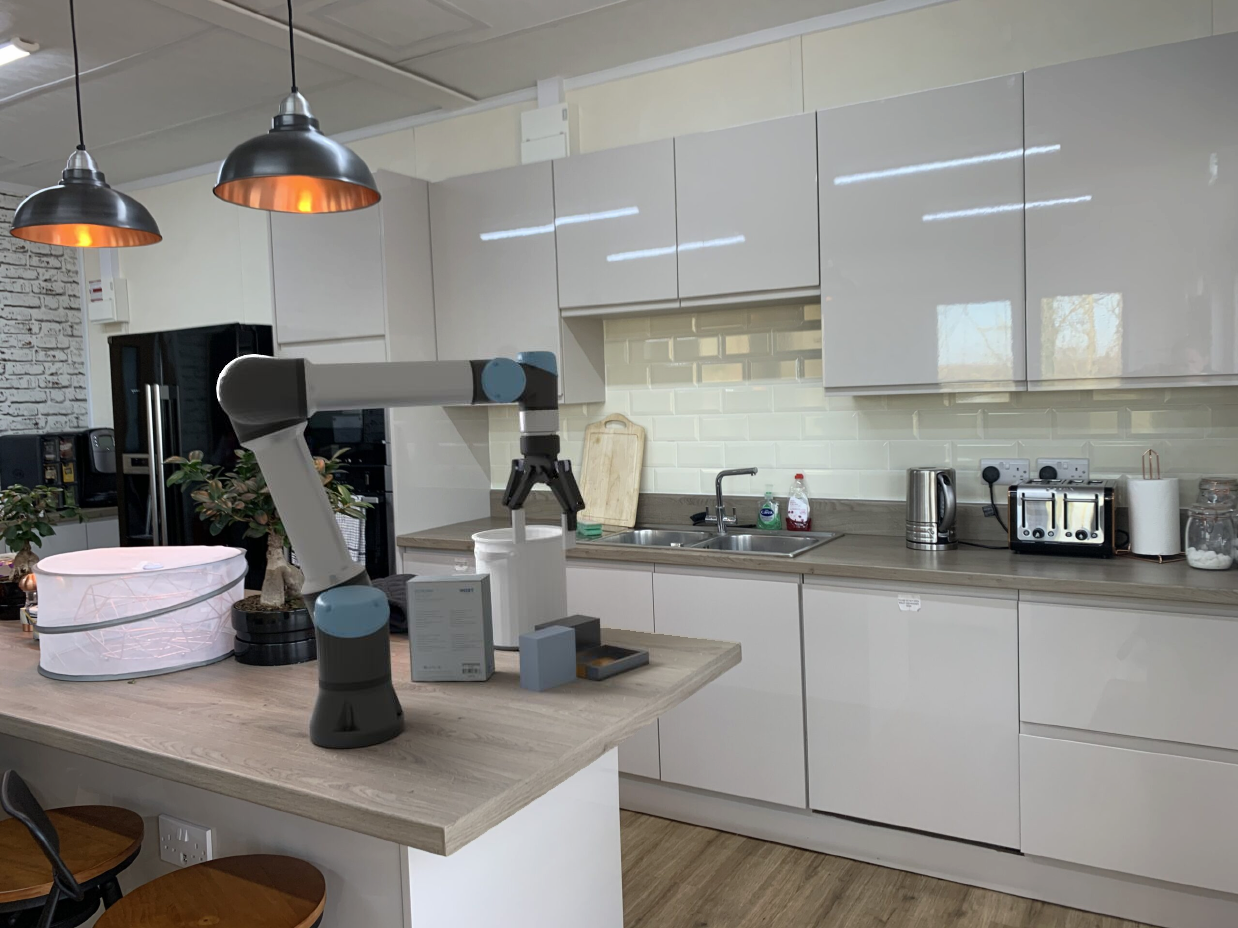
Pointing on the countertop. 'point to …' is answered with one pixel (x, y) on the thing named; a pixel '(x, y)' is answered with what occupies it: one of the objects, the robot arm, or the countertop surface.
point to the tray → (598, 650)
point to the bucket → (522, 580)
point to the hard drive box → (450, 627)
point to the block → (547, 658)
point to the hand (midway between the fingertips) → (543, 545)
